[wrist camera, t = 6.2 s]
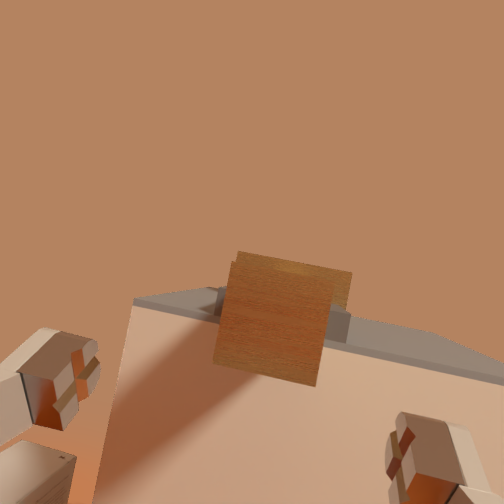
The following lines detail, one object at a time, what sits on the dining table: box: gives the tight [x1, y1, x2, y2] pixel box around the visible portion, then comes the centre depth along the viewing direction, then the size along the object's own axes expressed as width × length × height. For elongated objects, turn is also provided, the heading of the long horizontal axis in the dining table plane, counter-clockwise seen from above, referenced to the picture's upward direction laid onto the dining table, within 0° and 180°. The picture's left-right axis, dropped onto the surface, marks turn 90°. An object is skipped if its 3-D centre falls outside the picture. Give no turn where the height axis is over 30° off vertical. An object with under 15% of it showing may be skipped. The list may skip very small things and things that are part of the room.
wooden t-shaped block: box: [212, 251, 352, 387], centre depth 24 cm, size 10×26×4 cm, turn 173°
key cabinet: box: [92, 286, 504, 504], centre depth 28 cm, size 22×18×28 cm
